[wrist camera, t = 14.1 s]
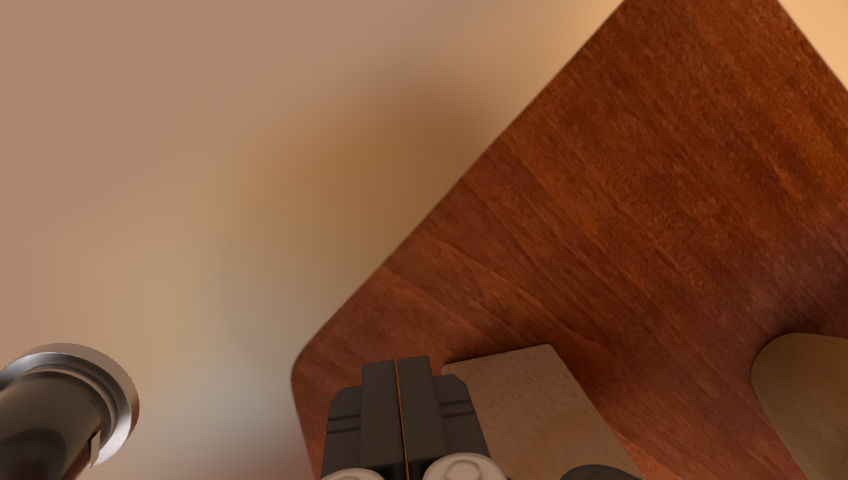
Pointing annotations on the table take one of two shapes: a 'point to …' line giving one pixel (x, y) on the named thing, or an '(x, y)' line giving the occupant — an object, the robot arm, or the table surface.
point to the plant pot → (807, 400)
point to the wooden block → (537, 415)
